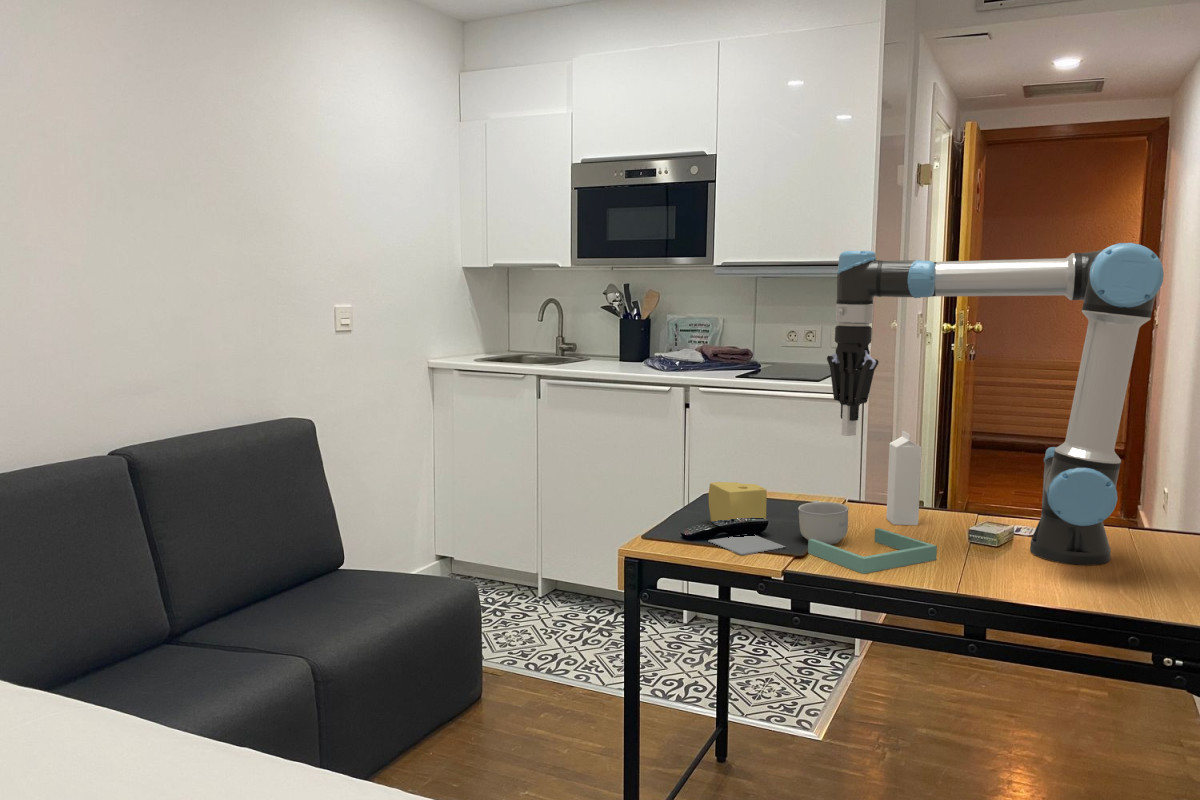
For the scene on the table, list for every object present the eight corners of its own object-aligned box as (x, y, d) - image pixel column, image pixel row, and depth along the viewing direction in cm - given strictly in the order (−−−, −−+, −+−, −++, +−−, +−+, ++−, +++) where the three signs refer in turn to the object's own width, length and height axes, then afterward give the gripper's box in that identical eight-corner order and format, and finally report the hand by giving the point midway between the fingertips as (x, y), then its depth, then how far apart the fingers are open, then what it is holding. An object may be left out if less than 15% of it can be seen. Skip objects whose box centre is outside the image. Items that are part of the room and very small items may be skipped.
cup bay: (936, 559, 191) (936, 545, 191) (863, 573, 181) (863, 559, 181) (878, 541, 205) (879, 528, 205) (807, 553, 195) (808, 539, 195)
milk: (910, 519, 225) (915, 430, 223) (918, 525, 219) (923, 434, 217) (885, 518, 225) (889, 429, 223) (892, 525, 219) (897, 433, 217)
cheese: (746, 519, 224) (747, 479, 223) (768, 530, 214) (769, 488, 213) (707, 523, 221) (708, 482, 220) (727, 534, 211) (728, 491, 210)
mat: (785, 548, 199) (786, 546, 199) (741, 555, 193) (741, 553, 193) (751, 535, 209) (751, 533, 209) (708, 542, 204) (708, 540, 204)
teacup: (848, 549, 199) (850, 513, 198) (797, 546, 201) (798, 510, 200) (845, 533, 212) (846, 499, 211) (797, 530, 214) (798, 496, 213)
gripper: (818, 323, 198) (814, 431, 201) (863, 326, 187) (857, 440, 189) (844, 323, 202) (839, 429, 204) (889, 325, 190) (884, 438, 193)
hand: (848, 435), depth 197 cm, fingers closed
